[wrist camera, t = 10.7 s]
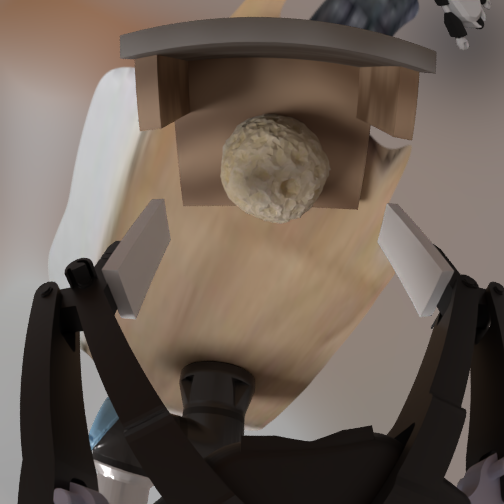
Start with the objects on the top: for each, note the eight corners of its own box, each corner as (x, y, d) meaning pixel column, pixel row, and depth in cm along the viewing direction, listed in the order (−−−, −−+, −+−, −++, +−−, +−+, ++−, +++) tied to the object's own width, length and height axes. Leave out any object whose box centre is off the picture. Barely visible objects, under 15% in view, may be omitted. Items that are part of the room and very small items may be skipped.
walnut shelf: (352, 201, 29) (393, 270, 19) (187, 197, 29) (152, 267, 19) (367, 56, 20) (436, 51, 10) (177, 50, 20) (120, 35, 10)
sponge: (315, 138, 27) (342, 90, 17) (317, 228, 27) (351, 217, 17) (226, 135, 27) (214, 83, 17) (223, 226, 27) (205, 213, 17)
